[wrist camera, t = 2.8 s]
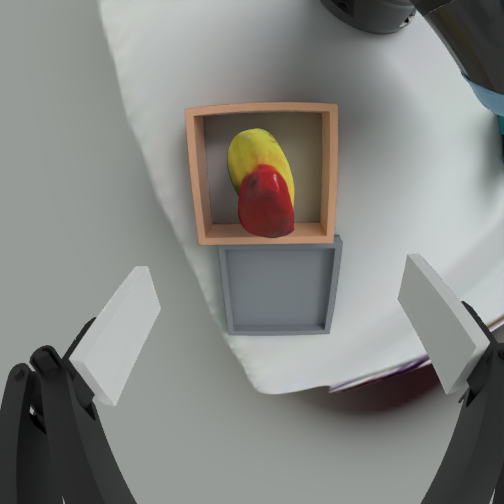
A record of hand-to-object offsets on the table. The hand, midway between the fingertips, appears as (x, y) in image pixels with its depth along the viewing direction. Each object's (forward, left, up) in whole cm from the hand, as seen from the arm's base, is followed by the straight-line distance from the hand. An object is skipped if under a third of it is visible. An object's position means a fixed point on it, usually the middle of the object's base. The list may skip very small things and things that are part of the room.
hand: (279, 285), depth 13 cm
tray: (+18, +1, -27) cm, 32 cm away
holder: (-1, -1, -27) cm, 27 cm away
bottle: (-1, -1, -27) cm, 27 cm away
